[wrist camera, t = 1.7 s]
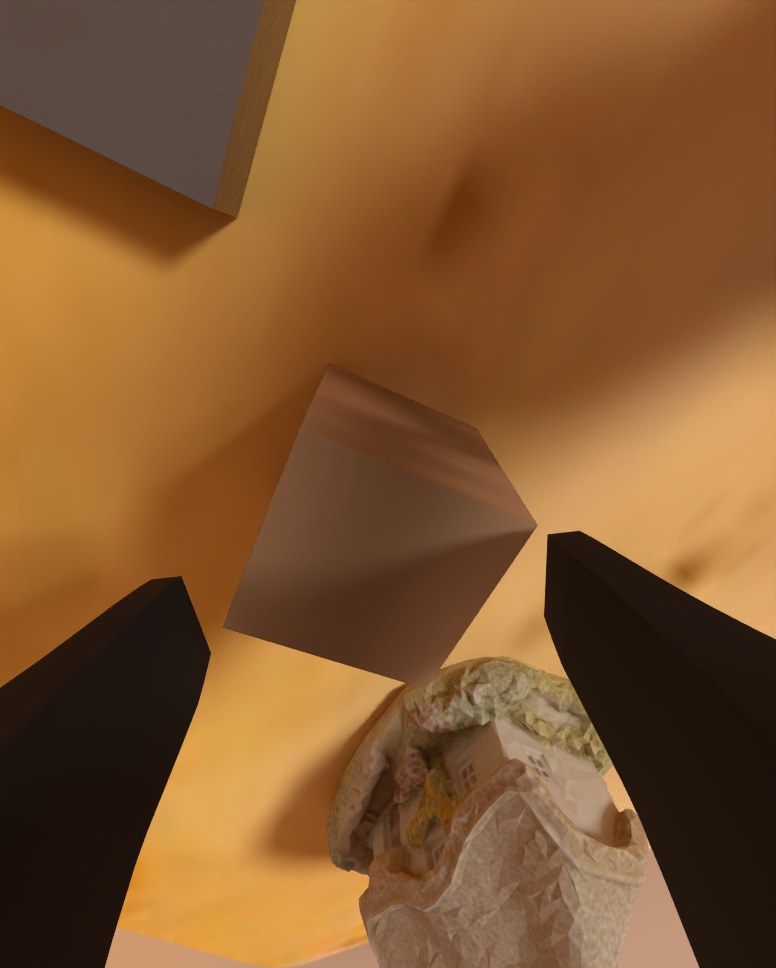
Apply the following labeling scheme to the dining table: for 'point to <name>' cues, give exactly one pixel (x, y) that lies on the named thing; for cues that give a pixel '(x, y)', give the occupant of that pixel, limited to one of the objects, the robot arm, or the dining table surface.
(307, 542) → the taupe wooden cube
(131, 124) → the grey square picture frame
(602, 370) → the dining table surface
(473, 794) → the ceramic model
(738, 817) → the robot arm
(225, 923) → the dining table surface
